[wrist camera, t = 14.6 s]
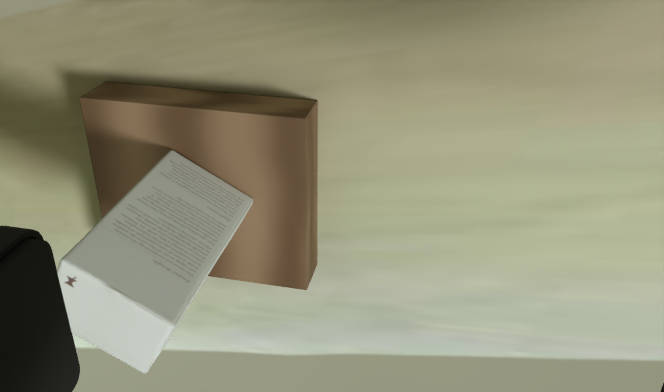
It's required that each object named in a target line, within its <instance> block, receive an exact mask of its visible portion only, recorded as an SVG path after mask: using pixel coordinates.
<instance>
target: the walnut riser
mask: <svg viewBox="0 0 664 392" xmlns="http://www.w3.org/2000/svg"><path fill="white" fill-rule="evenodd" d="M80 103H81V108H82V113H83V119H84V124H85V129H86V135H87V140H88V145H89V150H90V156H91V161H92V166H93V172H94V177H95V182H96V187H97V193H98V198H99V203H100V209H101V214H102V218H103V217H104V216H105V215H106V214H107V213H108V212H109V211H110V210H111V209H112V208H113V207H114V206H115V205H116V204H117V203H118V202H119V201H120V200H121V199H122V198H123V197H124V196H125V195H126V194H127V193H128V192H129V191H130V190H131V189H132V188H133V187H134V186H135V185H136V184H137V183H138V182H139V181H140V180H141V179H142V178H143V177H144V176H145V175H146V174H147V173H148V172H149V171H150V170H151V169H152V168H153V167H154V166H155V165H156V164H157V163H158V162H159V161H160V160H161V159H162V158H163V157H164V156H165V155H166V154H167V153H168V152H169V151H171V150H173V151H175V152H177V153H178V154H180V155H181V156H183V157H185V158H186V159H188V160H190V161H191V162H193V163H195V164H196V165H198V166H200V167H201V168H203V169H204V170H206V171H208V172H209V173H211V174H213V175H214V176H216V177H218V178H219V179H221V180H223V181H224V182H226V183H228V184H229V185H231V186H233V187H234V188H236V189H238V190H239V191H241V192H243V193H244V194H246V195H248V196H249V197H251V198H253V204H252V206H251V207H250V209H249V211H248V212H247V214H246V216H245V217H244V219H243V221H242V222H241V224H240V225H239V227H238V229H237V230H236V232H235V233H234V235H233V237H232V238H231V240H230V242H229V243H228V245H227V246H226V248H225V249H224V251H223V253H222V254H221V256H220V257H219V259H218V260H217V262H216V263H215V265H214V267H213V268H212V270H211V271H210V273H209V274H208V276H212V277H219V278H226V279H233V280H240V281H247V282H254V283H261V284H268V285H275V286H282V287H289V288H296V289H303V290H307V288H308V285H309V283H310V280H311V278H312V276H313V273H314V271H315V268H316V266H317V101H316V100H305V99H294V98H283V97H271V96H260V95H249V94H238V93H226V92H215V91H204V90H193V89H181V88H170V87H159V86H148V85H136V84H125V83H114V82H104V83H102V84H101V85H99V86H97V87H96V88H94V89H93V90H91V91H89V92H88V93H86V94H85V95H83V96H81V97H80Z"/></svg>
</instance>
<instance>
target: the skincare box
mask: <svg viewBox="0 0 664 392" xmlns="http://www.w3.org/2000/svg"><path fill="white" fill-rule="evenodd" d="M252 204H253V198H251V197H249V196H248V195H246V194H244V193H243V192H241V191H239V190H238V189H236V188H234V187H233V186H231V185H229V184H228V183H226V182H224V181H223V180H221V179H219V178H218V177H216V176H214V175H213V174H211V173H209V172H208V171H206V170H204V169H203V168H201V167H200V166H198V165H196V164H195V163H193V162H191V161H190V160H188V159H186V158H185V157H183V156H181V155H180V154H178V153H177V152H175V151H173V150H171V151H169V152H168V153H167V154H166V155H165V156H164V157H163V158H162V159H161V160H160V161H159V162H158V163H157V164H156V165H155V166H154V167H153V168H152V169H151V170H150V171H149V172H148V173H147V174H146V175H145V176H144V177H143V178H142V179H141V180H140V181H139V182H138V183H137V184H136V185H135V186H134V187H133V188H132V189H131V190H130V191H129V192H128V193H127V194H126V195H125V196H124V197H123V198H122V199H121V200H120V201H119V202H118V203H117V204H116V205H115V206H114V207H113V208H112V209H111V210H110V211H109V212H108V213H107V214H106V215H105V216H104V217H103V218H102V219H101V220H100V221H99V222H98V223H97V224H96V225H95V226H94V227H93V228H92V229H91V230H90V231H89V232H88V233H87V234H86V235H85V237H84V238H83V239H82V240H81V241H80V242H78V243H77V244H76V245H75V246H74V247H73V248H72V249H71V250H70V251H69V252H68V253H67V254H66V255H65V256H64V257H63V258H62V259H61V260H60V263H59V266H58V269H57V274H58V278H59V282H60V286H61V290H62V294H63V299H64V303H65V307H66V311H67V315H68V319H69V323H70V328H71V332H72V333H73V334H75V335H77V336H79V337H80V338H82V339H84V340H86V341H87V342H89V343H91V344H93V345H94V346H96V347H98V348H100V349H101V350H103V351H105V352H107V353H109V354H110V355H112V356H114V357H116V358H117V359H119V360H121V361H123V362H125V363H126V364H128V365H130V366H132V367H134V368H135V369H137V370H139V371H140V372H142V373H146V372H147V371H148V370H149V369H150V367H151V366H152V364H153V363H154V361H155V360H156V358H157V357H158V355H159V354H160V352H161V351H162V349H163V347H164V346H165V344H166V343H167V341H168V340H169V338H170V336H171V335H172V333H173V331H174V330H175V328H176V327H177V325H178V323H179V322H180V320H181V318H182V317H183V315H184V313H185V312H186V310H187V308H188V307H189V305H190V303H191V302H192V300H193V298H194V297H195V295H196V294H197V292H198V290H199V289H200V287H201V286H202V284H203V282H204V281H205V279H206V278H207V276H208V274H209V273H210V271H211V270H212V268H213V267H214V265H215V263H216V262H217V260H218V259H219V257H220V256H221V254H222V253H223V251H224V249H225V248H226V246H227V245H228V243H229V242H230V240H231V238H232V237H233V235H234V233H235V232H236V230H237V229H238V227H239V225H240V224H241V222H242V221H243V219H244V217H245V216H246V214H247V212H248V211H249V209H250V207H251V206H252Z"/></svg>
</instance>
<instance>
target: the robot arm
mask: <svg viewBox="0 0 664 392" xmlns="http://www.w3.org/2000/svg"><path fill="white" fill-rule="evenodd" d="M79 366H80V365H79V361H78V357H77V353H76V348H75V344H74V340H73V336H72V332H71V328H70V323H69V319H68V315H67V311H66V307H65V303H64V299H63V294H62V290H61V286H60V282H59V278H58V274H57V270H56V265H55V261H54V257H53V253H52V249H51V247H50V244H49V243H48V242H47V241H44V240H43V237H42V235H41V234H40V233H39V232H38V231H35V230H32V229H24V228H17V227H10V226H0V392H72V391H73V389H74V388H75V386H76V384H77V381H78V378H79V373H80V367H79ZM661 392H664V383H663V386H662V389H661Z"/></svg>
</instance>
